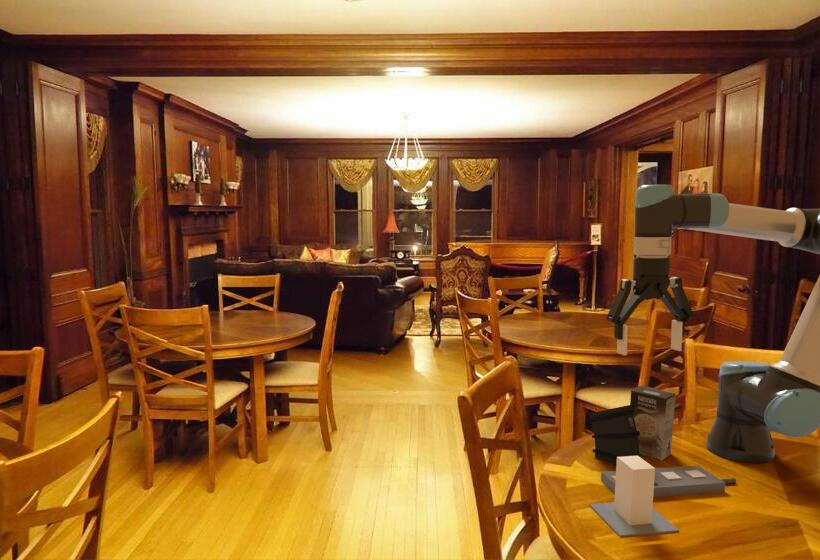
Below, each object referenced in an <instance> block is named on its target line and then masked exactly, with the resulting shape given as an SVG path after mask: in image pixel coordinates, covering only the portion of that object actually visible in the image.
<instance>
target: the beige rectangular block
mask: <svg viewBox="0 0 820 560" xmlns="http://www.w3.org/2000/svg"><path fill="white" fill-rule="evenodd" d="M639 456H640V455H639ZM639 456H624V457H617V463H616V466H615V468H616V469H615V471H616V481H615V493H614V500H613V501H614V511H616V512H617V513H618V514H619V515H620V516H621V517H622V518H623V519H624V520H625V521H626V522H627V523H628V524H629V525H639V524H651V523H652V509H653V508H654V506H653V504H654V497H653V493H654V478H655V468H656V467H654V466H653V465H651V464H650V463H649V462H647V461H646V460H644V459H643V457H642V458H640V457H639Z"/></svg>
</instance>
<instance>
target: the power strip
mask: <svg viewBox="0 0 820 560" xmlns="http://www.w3.org/2000/svg"><path fill="white" fill-rule="evenodd" d="M654 468H655V478H654V493H653V498H660V497H661V498H662V497H663V498H664V497H675V496H688V495H700V494H702V495H703V494H713V493H714V494H715V493H725V491H726V484H736V483H737V479H736V478H734V477H733V478H722V479H721V478H719V477H717V476H716V475H714V474H713V473H711V472H709V471H708V470H706V469H704V468H703V467H702V466H700V465H699V464H698V465H683V466H668V467H654ZM600 481H601V482H602V483H603V484H604V485H605V487H607V488H608V489H610V490H611V492H613V493H614V494H615V481H616V470H611V471H609V470H608V471H601V474H600Z"/></svg>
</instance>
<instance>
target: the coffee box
mask: <svg viewBox="0 0 820 560" xmlns="http://www.w3.org/2000/svg"><path fill="white" fill-rule="evenodd" d="M629 400H630V401H629V405H630V407H631V410H632V409H634V411H635V413H633V416H634V420H635V424H636V429H637V431H640V436H638V442H639V455H641V456H645V457H649V458H652V459H654V460H658V461H663V460H664V459H666V458H667V457H668V456H670V455H671V454H672V445H673V444H672V442H673V432H674V431H673V429H674V420H675V419H674V418H675V417H674V416H675V406H676V405H675V404H676V393H675V392H671V391H665V390H661V389H656V388H654V387H649V386H645V385H639V386H638V387H635V388H634V389H632V390H630V399H629Z"/></svg>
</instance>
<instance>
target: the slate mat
mask: <svg viewBox="0 0 820 560" xmlns="http://www.w3.org/2000/svg"><path fill="white" fill-rule="evenodd" d="M589 508H591V509H592V510H593V512H595V513H596V514H597V515H598V516H599V518H600V519H602V521H603V522H605V524H606V525H607V526H608V527H610V528H611V530H612V531H613V532H614V533H615V534H616V535H617V536H618V537H619V538H625V537H636V536H647V535H658V534H659V535H660V534H670V533H671V534H672V533H679V532H680V530H679V528H677V527H676V526H675V525H674V524H673V523H671V522H670V521H669V520H668V519H667V518H665V517H664V516H663V515H662V514H661V513H660V512H658V511H657V510H656V509H655V508H654V507H653V509H652V523H651V524H639V525H629V524H628V523H627V522H626V521H625V520H624V519H623V518H622V517H621V516H620V515H619V514H618V513H617V512H616V511H614V502H613V501H612V502H602V503H601V502H600V503H589Z"/></svg>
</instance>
